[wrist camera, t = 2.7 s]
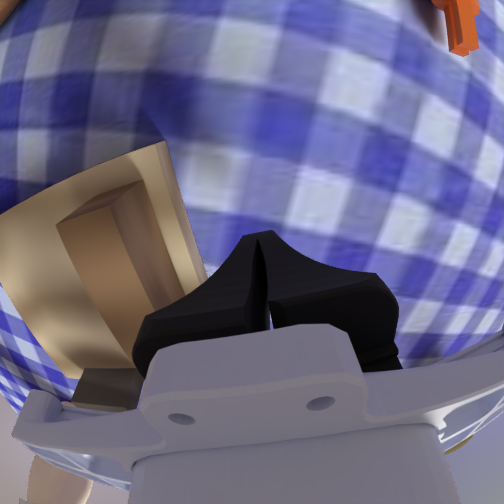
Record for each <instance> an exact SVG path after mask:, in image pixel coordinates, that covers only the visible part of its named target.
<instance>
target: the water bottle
mask: <svg viewBox="0 0 504 504" xmlns="http://www.w3.org/2000/svg"><path fill="white" fill-rule="evenodd" d="M61 403H62V405H65V406H71V407H76V406H75V405H74V404H72V403H71V402H66V401H63V402H61ZM92 485H93V481H92V480H89V479H87V478H84V477H81V476H78V475H76V474H73V473H70V472H68V471H65V470H63V469H60V468H58V467H55V466H53V465H51V464H50V463H48V462H47V461H45V460H44V459H42V458H41V457H39V456H38V455H36V456H35V457H34V460H33V463H32V466H31V470H30V475H29V482H28V491H27V501H25V500H23V499H21V498H19V504H85V503H86V501H87V499H88V497H89V494H90V491H91V488H92Z"/></svg>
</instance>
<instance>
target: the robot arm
mask: <svg viewBox="0 0 504 504" xmlns="http://www.w3.org/2000/svg"><path fill="white" fill-rule="evenodd" d="M270 314H271V318H272V323H273V327H274V329H273V330H270ZM398 317H399V306H398V303H397V301H396V298H395V297H394V295H393V294H392V292H391V291H390V289H389V288H388V287H387V285H386V284H385V283H384V282H383V281H382V280H381V279H380V277H379V276H378V275H377V274H376V273H369V272H358V271H350V270H345V269H340V268H336V267H332V266H329V265H326V264H323V263H320V262H317V261H315V260H313V259H310V258H308V257H306V256H304V255H302V254H301V253H299V252H297V251H296V250H295V249H293V248H292V247H291V246H289V245H288V244H287V243H286V242H284V241H283V240H282V239H281V238H280V237H279V236H278V235H277V234H276V233H275V232H274V231H273V230H268V231H263V232H258V233H253V234H248V235H243V236H242V238H241V239H240V241H239V242H238V244H237V245H236V247H235V248H234V250H233V251H232V253H231V254H230V255H229V257H228V258H227V259H226V260H225V262H224V263H223V264H222V265H221V266H220V268H219V269H218V270H217V271H216V272H215V273H214V274H213V275H212V276H210V277H209V278H208V279H207V280H206V281H205V282H204V283H202V284H201V285H200V286H198V287H197V288H196V289H194V290H193V291H192V292H190V293H189V294H187V295H186V296H184V297H182V298H181V299H179V300H177V301H176V302H174V303H172V304H170V305H168V306H166V307H164V308H162V309H160V310H157V311H155V312H153V313H151V314H148V315H146V316H145V317H144V320H143V322H142V325H141V327H140V330H139V332H138V335H137V338H136V340H135V343H134V346H133V350H132V360H133V363H134V365H135V367H136V368H137V370H138V372H139V373H140V374H141V375H142V377H143V378H144V379H145V383H144V387H143V391H142V395H141V398H140V402H139V406H138V407H139V408H138V409H134V410H129V411H124V412H119V413H118V412H108V411H99V410H91V409H83V408H77V407H71V406H65V405H62V403H61V402H60V401H59V400H58V399H57V398H56V397H55V396H54V395H52V394H51V393H49V392H46V391H41V390H36V389H31V391H30V393H29V395H28V397H27V399H26V401H25V403H24V405H23V408H22V410H21V412H20V415H19V417H18V419H17V422H16V424H15V426H14V429H13V431H12V434H11V435H12V437H13V438H15V439H16V440H17V441H18V442H20V443H21V444H22V445H24V446H25V447H27V448H28V449H29V450H31V451H32V452H33V453H35V454H36V455H38V456H39V457H41V458H42V459H44V460H45V461H47V462H48V463H50V464H51V465H53V466H55V467H58V468H60V469H63V470H65V471H68V472H70V473H73V474H76V475H78V476H81V477H84V478H87V479H89V480H92V481H95V482H98V483H101V484H104V485H107V486H111V487H114V488H117V489H121V490H124V491H128V492H130V493H129V499H128V504H461V502H460V499H459V496H458V492H457V489H456V486H455V482H454V479H453V476H452V473H451V470H450V467H449V464H448V462H447V459H446V456H445V453H444V452H445V451H447V450H448V449H450V448H452V447H453V446H455V445H457V444H458V443H460V442H462V441H463V440H465V439H466V438H468V437H469V436H471V435H472V434H474V433H475V432H477V431H478V430H480V429H481V428H483V427H484V426H485V425H487V424H488V423H490V422H491V421H492V420H494V419H495V418H496V417H497V416H499V415H500V414H501V413H503V412H504V324H503V327H502V330H500V331H498V332H496V333H495V334H493V335H491V336H489V337H488V338H486V339H484V340H482V341H480V342H478V343H476V344H474V345H472V346H470V347H468V348H466V349H464V350H462V351H460V352H458V353H456V354H454V355H451V356H449V357H447V358H445V359H443V360H440V361H438V362H436V363H433V364H431V365H428V366H422V367H415V368H408V369H403V368H402V366H401V364H400V362H399V359H398V357H397V355H398V353H399V352H398V348H397V346H396V344H395V342H394V338H395V333H396V328H397V323H398Z"/></svg>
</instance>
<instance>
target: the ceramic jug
mask: <svg viewBox="0 0 504 504" xmlns="http://www.w3.org/2000/svg"><path fill="white" fill-rule="evenodd" d="M20 1H21V0H0V26H1V25H2V24H3V23H4V22H5V20H6V19H7V18H8V17H9V15H10V14H11V13H12V12H13V10H14V9H15V8H16V7H17V5H18V4H19V3H20Z"/></svg>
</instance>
